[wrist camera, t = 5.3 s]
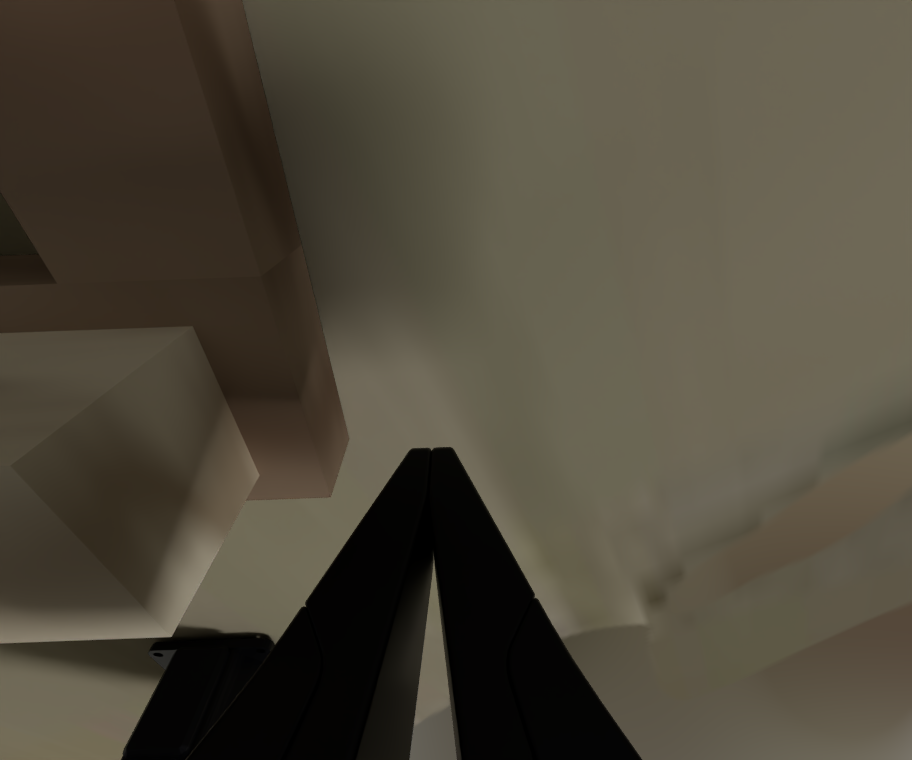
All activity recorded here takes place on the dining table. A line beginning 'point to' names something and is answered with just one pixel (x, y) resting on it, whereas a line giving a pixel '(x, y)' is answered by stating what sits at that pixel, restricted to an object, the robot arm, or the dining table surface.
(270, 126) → the trap deck
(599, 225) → the dining table surface
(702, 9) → the dining table surface
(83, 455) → the birch block
